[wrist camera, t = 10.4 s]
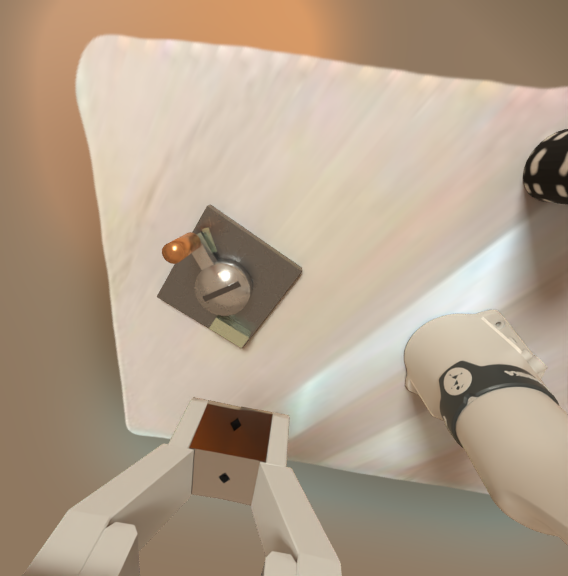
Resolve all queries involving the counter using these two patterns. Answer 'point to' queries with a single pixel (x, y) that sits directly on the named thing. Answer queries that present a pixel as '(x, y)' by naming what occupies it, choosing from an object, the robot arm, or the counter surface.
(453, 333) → the robot arm
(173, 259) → the copper silver knob
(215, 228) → the plate
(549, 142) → the spotted tube
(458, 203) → the counter surface
